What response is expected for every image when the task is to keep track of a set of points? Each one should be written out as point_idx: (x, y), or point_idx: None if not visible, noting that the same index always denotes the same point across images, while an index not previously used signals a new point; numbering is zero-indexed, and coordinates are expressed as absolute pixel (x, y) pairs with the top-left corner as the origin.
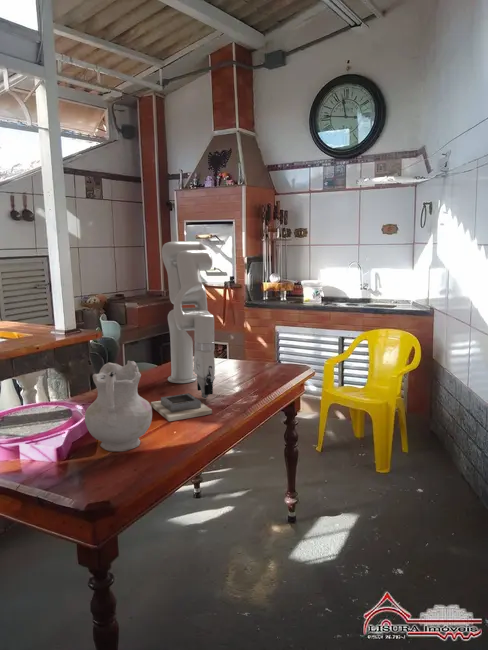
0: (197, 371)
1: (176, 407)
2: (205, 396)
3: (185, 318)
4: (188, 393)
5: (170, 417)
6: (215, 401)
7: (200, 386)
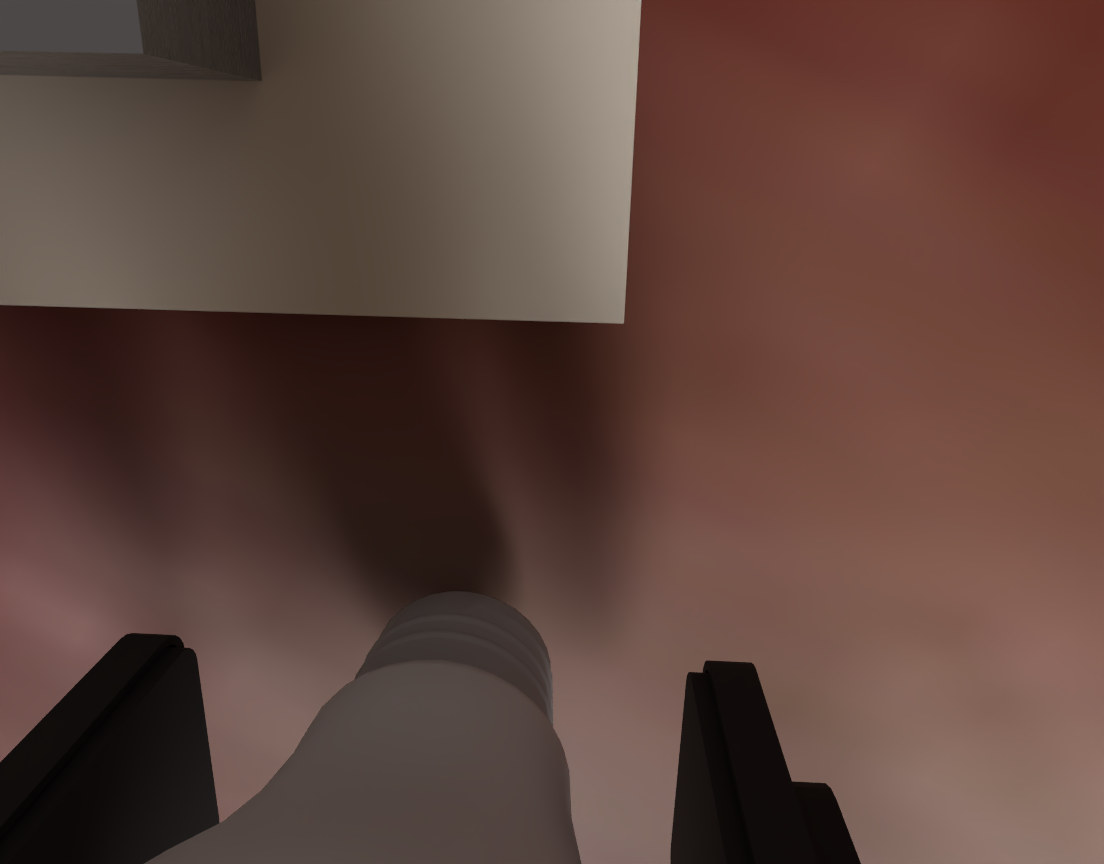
0: None
1: None
2: (371, 653)
3: None
4: (99, 17)
5: None
6: None
7: (368, 770)
